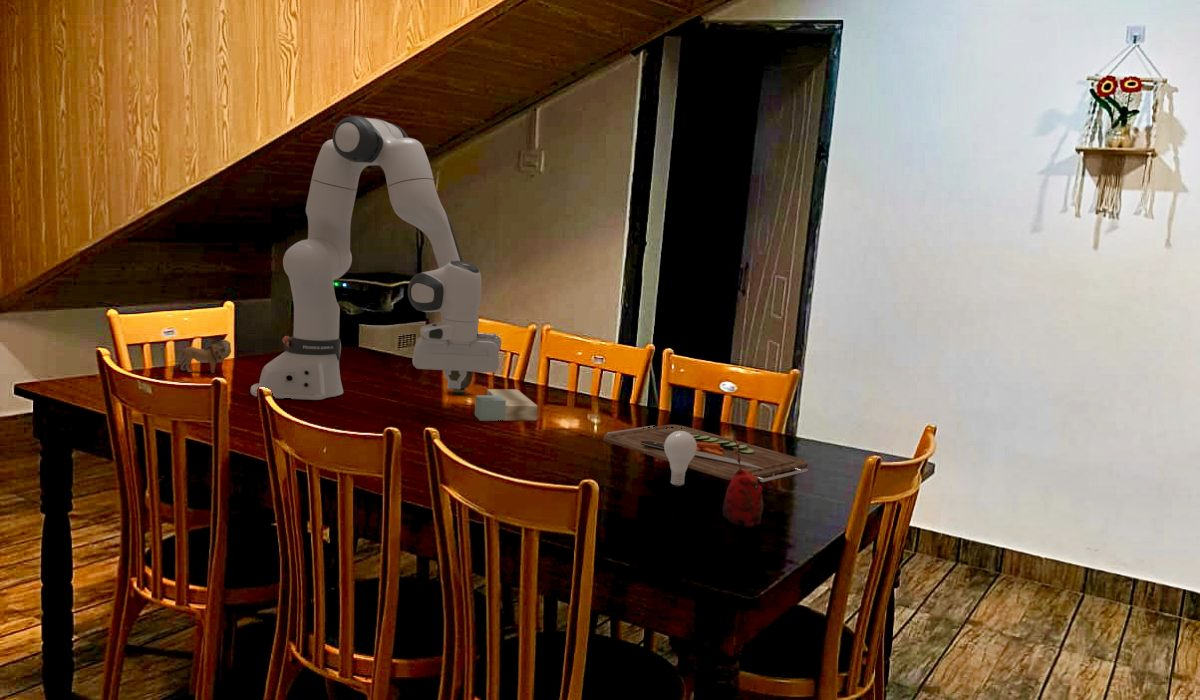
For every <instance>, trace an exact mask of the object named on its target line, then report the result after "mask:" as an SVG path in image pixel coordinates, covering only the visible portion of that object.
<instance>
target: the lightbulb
mask: <svg viewBox="0 0 1200 700" xmlns="http://www.w3.org/2000/svg"><path fill="white" fill-rule="evenodd" d="M664 451H665V454H666V456H667V458H668V460H669V462H668V463H669V467H670V471H671V472H670V473H671V475H670V483H671V484H672V485H673V486H674V487H676V488H677V487H678V488H679V487H681V486H683V485H685V477H686V472H687V470H688V464H689V463H690V461H691V460H692V459H693V457H694V456H695V454H696V451H697V443H696V440H695V439H694V437H693V436H692V435H691V434H690V433H688V432H685V431H675V432H673V433H671V434H670V435H669V436H668V437H667V439H666V441H665V444H664Z"/></svg>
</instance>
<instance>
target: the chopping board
mask: <svg viewBox="0 0 1200 700" xmlns="http://www.w3.org/2000/svg"><path fill="white" fill-rule="evenodd" d="M653 426H655V425H649V426H642V427H636V428H635V427H634V428H627V429H621V430H615V431H610V432H609V431H608V432H606V434H604V435H603V441H604V442H605V441H606V442H605V443H608V444H611V445H614V444H615V445H614V446H617V445H618V447H620V446H622V447H621V448H624V449H627V448H628V450H630V449H631V450H630V451H633V450H634V451H633V452H636V451H637V452H636V453H640V454H644V455H646V454H647V456H649V455H650V456H649V457H652V456H653V458H656V459H659V460H662V461H666V462H668V463H670V462H669V460H668V458H667V456H666V454H665V451H664V444H665V441H666V439H667V437H668V436H669V435H670V434H671V433H673V432H675V431H685V432H688V433H690V434H691V435H692V436H693V437H694V439H695V440H696V443H697V451H696V454H695V456H694V457H693V459H692V460H691V461H690V463H689V464H688V467H687V469H691V470H694V471H698V472H701V473H704V474H707V475H711V476H714V477H717V478H721V479H722V480H723V479H724V480H726V481H727V480H728V481H732V479H733V477H734V476H735V474H736V472H737V471H738V470H739V463H738V461H737V459H738V452H737V454H735V453H734V448H737V447H736V443H735V441H734V439H733V438H728V437H725V436H721V435H717V434H714V433H711V432H706V431H703V430H699V429H697V428H692V427H688V426H685V425H681V424H665V425H659V426H655V427H653ZM648 427H650V428H648ZM671 427H673V428H671ZM643 428H644V429H643ZM666 428H667V429H666ZM681 428H682V429H681ZM736 441H737V443H738V444H741V443H742V442H743V441H740V440H739V441H738V440H736ZM731 445H735V446H734V447H733V446H731ZM739 456H740V458H742V459H741V460H740V465H741V469H742V470H744V471H749V472H751V475H753V476H756V477H757V478H758V480H759V482H761V483H765V482H769V481H774V480H777V479H778V480H779V479H782V478H787V477H791V476H795V475H798V474H803V473H808V471H809V469H808V468H805V467H807V460H805V459H803V458H800V457H797V456H793V455H790V454H787V453H783V452H779V451H776V450H772V449H768V448H764V447H761V446H757V445H753V444H751V443H750V444H749V443H746V442H743V444H741V445H740V446H739ZM802 468H803V469H802ZM793 470H794V471H793ZM781 473H782V474H781ZM773 475H774V476H773ZM768 476H769V477H768Z"/></svg>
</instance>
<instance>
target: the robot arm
mask: <svg viewBox="0 0 1200 700" xmlns="http://www.w3.org/2000/svg"><path fill="white" fill-rule="evenodd" d="M429 161H430V160H429V158H428V156H427V153H426V151H425V148H424V146H423V144H422V142H420V141H419V140H418V139H415V138H412V137H409V136H408V134H407V132H406V131H405V130H404V129H403V128H401V127H400V126H398V125H397V124H395V123H391V122H388V121H385V120H382V119H378V118H375V117H374V118H368V117H363V116H360V115H353V116H348V117H345V118H342V119H341V120H340V121H339V122H337V124H336V125H335V127H334V129H333V132H332V139H328V140H327V141H325V142H324V143H323V144H322V146H321V148H320V151H319V152H318V154H317V158H316V161H315V164H314V167H313V171H312V176H311V180H310V185H309V191H308V195H307V200H306V206H305V214H306V216H307V227H308V229H307V230H308V231H307V239H302V240H300V241H298V242H296V243H294V244H293V245H291V246H290V247H288V249H287V250H286V251H285V253H284V256H283V259H282V266H283V270H284V272H285V274H286V275H287V276H288V280H289V284H290V285H289V286H290V289H291V294H292V302H293V335H292V336H289V335H285V336H284V337H282V339H281V340H282V343H283V344H284V352H282V353H281V354H279V355H277V357H275V358H273V359H272V360H271V361H269V362H267V363H266V364H265V365H264V366H263V368H262V370H261V373H260V378H259V383H254V384H253V385H251V387H250V394H251V395H252V396H254V397H256V398H258V397H257V389H258V387H265V388H268V389H270V390H271V391H272V393H273V396H274V397H275V398H274V399H284V398H291V399H292V400H310V401H319V400H324V399H327V398H332V397H337V396H341V395H343V394H344V389H343V384H342V380H341V374H340V360H341V354H342V353H341V350H342V342H341V338H340V316H341V315H340V314H341V308H340V305H339V303H338V302H337V301H338V300H337V298H336V293H335V286H334V281H335V280H338V279H340V278H342V276H344V275H345V274H346V273H347V272H348V271H349V269H350V268H351V265H352V263H353V262H352V261H353V256H352V252H351V225H352V224H351V223H352V217H353V212H354V206H355V202H356V196H357V192H358V186H359V180H360V176H361V173H362V172H363V170H364V169H365V168H366V167H368V166H370V168H372V169H378V168H381V169H382V171H383V172H384V176H385V180H386V185H387V191H388V197H389V201H390V205H391V206H392V209H393V211H394V213H395V215H396V216H398V218H400V219H401V220H403V221H404V222H406V223H408V224H410V225H411V226H414V227H415V228H417V229H418V230H420V231H421V233H423V234H424V235H425V236H427V238H428V240H429V242H430V244H431V247H432V250H433V253H434V257H435V260H436V263H437V267H438V268H436V269H434V270H432V269H431V270H429V271H423V272H419V273H417V274H414V275H413V276H412V278H411V279H410V281H409V283H408V286H407V298H408V300H409V303H410V304H411V306H412V307H413V308H414V309H415V310H417V311H419V312H424V313H434V312H435V313H440V314H441V315H440V321H437V322H432V323H430V324H429V323H428V324H425V325H424V324H423V325H421V327H420V328H419V332H420V335H421V336H419V337H418V338H417V339H416V342H415V344H414V347H413V353H412V359H411V360H412V365H413V367H415V369H417V370H434V371H435V370H437V371H443V375H444V377H445V378H446V381H447V383H446V385H447V386H446V388H447V389H448V390H452V389H460V388H461V382H462V381H463V380H464V378H465V377H466V374H467V371H471V372H473V373H475V372H476V373H496V372H497V371H498V370H499V368H500V367H499V365H500V356H499V353H500V350H501V348H502V339H501V337H500V336H499V335H498V334H497V335H496V333H487V332H479V331H478V330H479V320H480V317H479V307H480V305H481V301H482V300H481V299H482V286H483V285H482V283H483V282H482V274H481V271H480V268H478V267H477V266H476V265H474V264H472V263H469V262H467V261H466V262H465V261H464V260H463V258H462V255H461V251H460V247H459V244H458V241H457V238H456V234H455V231H454V229H453V225H452V223H451V219H450V216H449V214H448V213H447V211H446V210H445V208H444V207H443V205H442V202H441V200H440V197H439V194H438V191H437V189H436V184H435V179H434V175H433V171H432V168H431V164H430V162H429ZM451 371H459V374H460V377H459V378H458V380H457V381H451V380H450V377H449V375H451ZM448 374H449V375H448ZM291 399H290V400H291Z"/></svg>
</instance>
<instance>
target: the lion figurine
mask: <svg viewBox="0 0 1200 700" xmlns="http://www.w3.org/2000/svg"><path fill="white" fill-rule="evenodd" d="M231 353H232V348H231V342H229V340H226V339H220V340H218V341H217V342H215V343H213V344H210V345H208V346H207V347H206V348H197V347H193V346H187V347H186V348H184V349H183V350H182V352H181V353H180V357H179V360H178V362H177V364H176V366H174V367H173V368H172V371H175V370H177V369H178V368H179V369H180V370H181V371H187V373H188V372H192V371H193V370H192V369H190V365H191V362H192V360H196V362H199V363H203V364H205V363H209V366H210V372H211V374H212V373H214V372H215V370H216V364H219V363H222V362H223V361H224V360H225V359H226V358H228V357H229V356H230V355H231ZM183 357H184V359H183Z"/></svg>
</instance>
